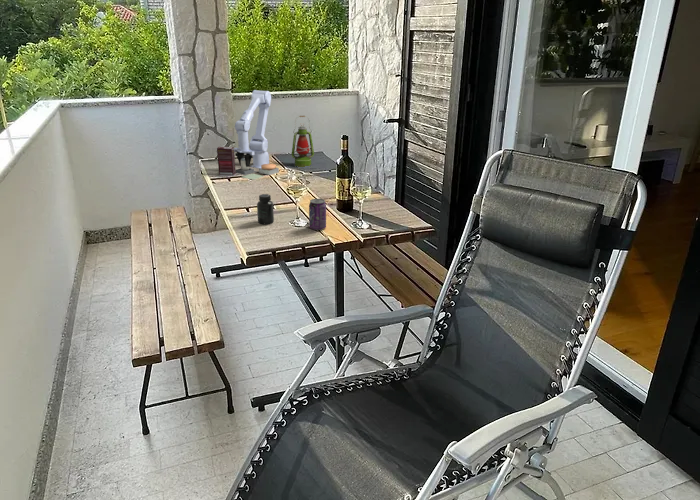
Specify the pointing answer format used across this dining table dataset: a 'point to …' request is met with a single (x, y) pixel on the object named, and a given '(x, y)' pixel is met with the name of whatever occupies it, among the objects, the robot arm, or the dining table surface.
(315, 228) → the beverage can
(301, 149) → the lantern
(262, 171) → the button housing
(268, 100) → the robot arm
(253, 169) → the dock
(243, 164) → the cylinder
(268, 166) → the tan rounded dome
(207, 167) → the dining table surface
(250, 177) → the mat
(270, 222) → the supplement bottle
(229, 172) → the supplement box
